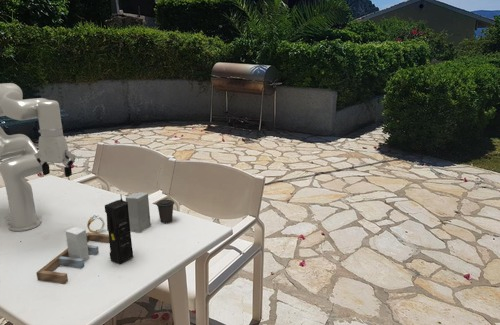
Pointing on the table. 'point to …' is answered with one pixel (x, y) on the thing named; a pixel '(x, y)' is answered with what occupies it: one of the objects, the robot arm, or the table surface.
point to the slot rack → (69, 261)
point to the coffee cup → (165, 210)
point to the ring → (92, 221)
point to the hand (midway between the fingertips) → (57, 175)
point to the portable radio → (119, 231)
